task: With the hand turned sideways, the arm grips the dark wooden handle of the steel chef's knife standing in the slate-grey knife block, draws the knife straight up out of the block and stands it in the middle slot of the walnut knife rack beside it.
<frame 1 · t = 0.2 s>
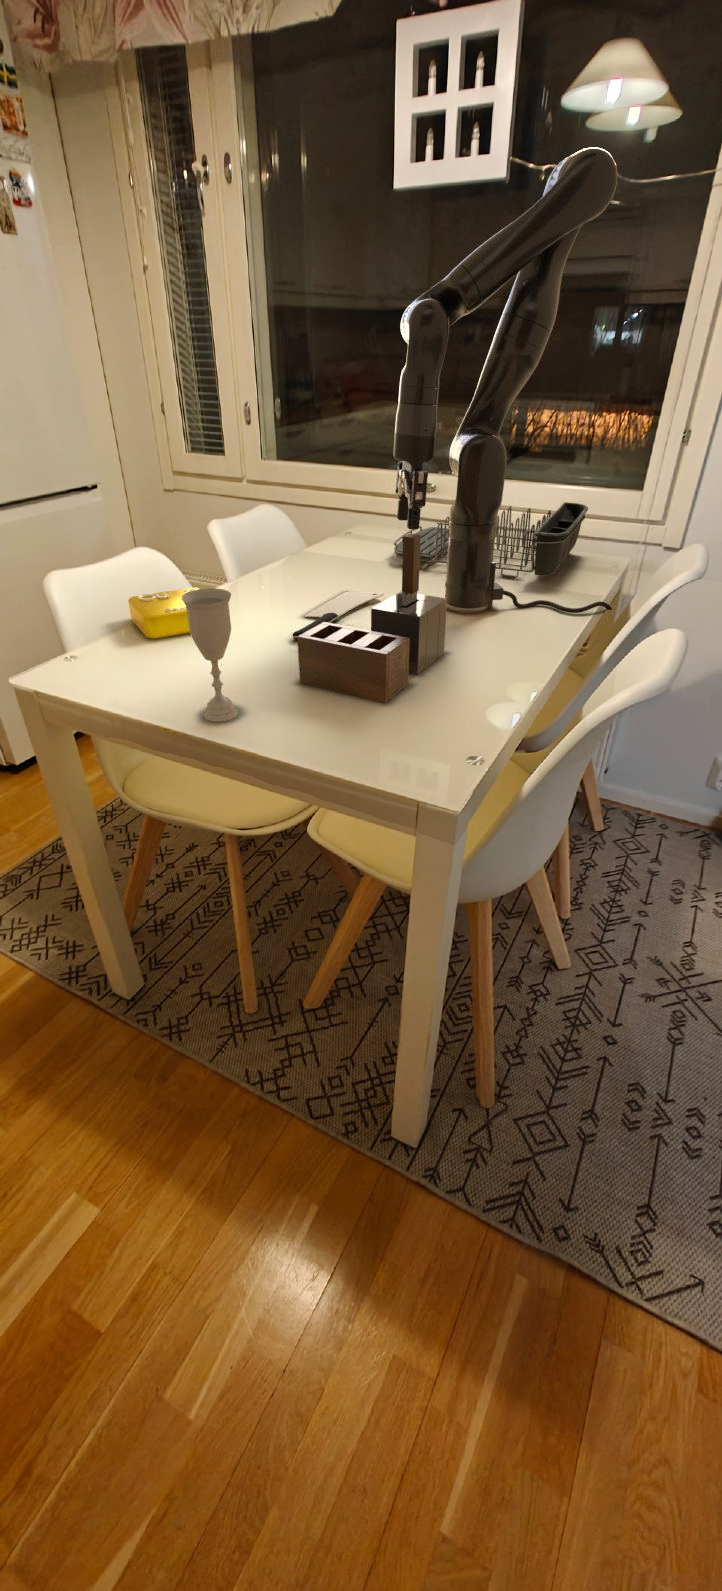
hand: (407, 524, 140), 17 cm above the table, tool pointing down, fingers open, 8 cm apart
chef knife: (409, 600, 121), in the knife block
chalice: (221, 715, 109), on the table
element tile: (176, 623, 144), on the table
knife block: (408, 659, 127), on the table
dish rack: (484, 559, 184), on the table
kitchen cleaver: (330, 616, 147), on the table
knife rack: (353, 683, 118), on the table
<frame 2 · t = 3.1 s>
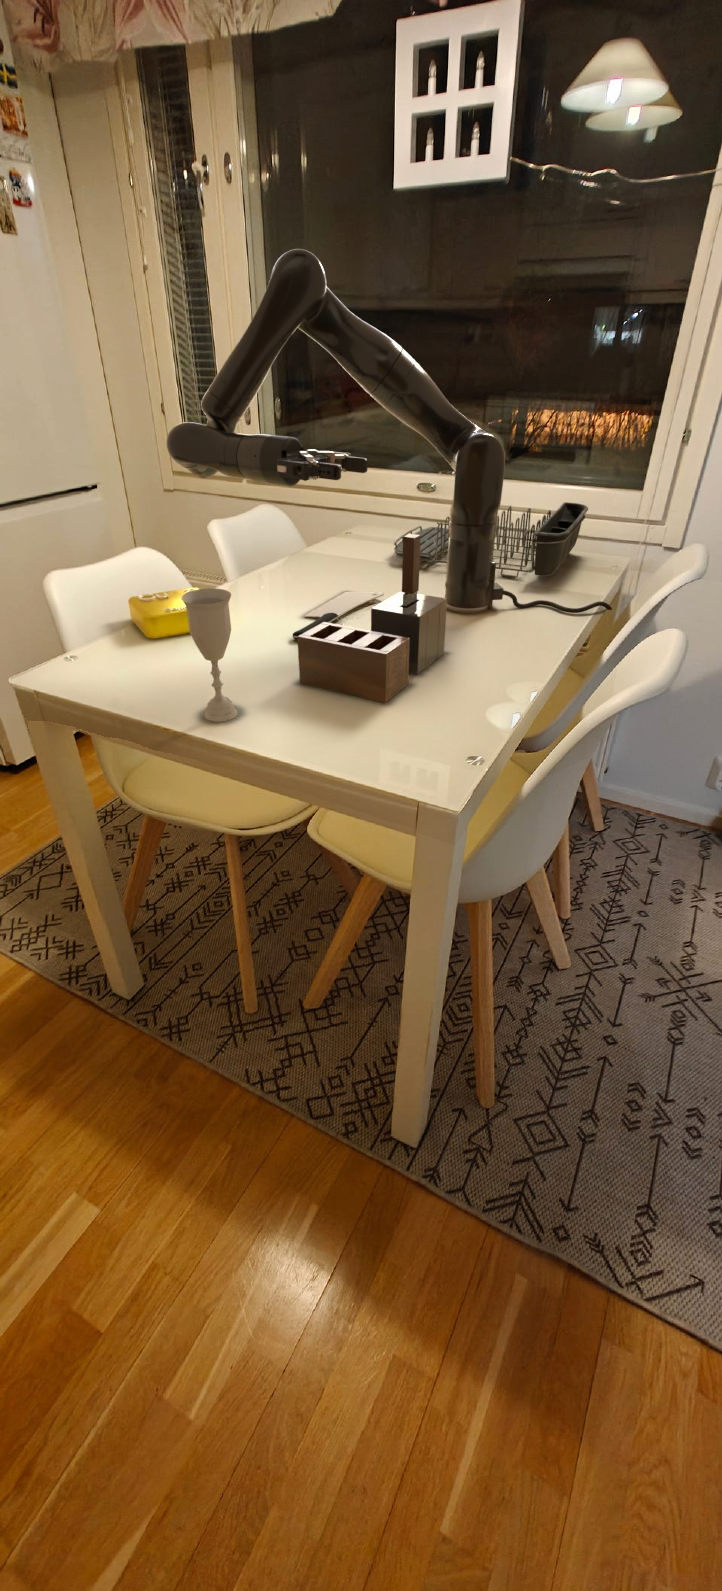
hand: (353, 469, 115), 30 cm above the table, tool horizontal, fingers open, 8 cm apart
nothing on the table moved.
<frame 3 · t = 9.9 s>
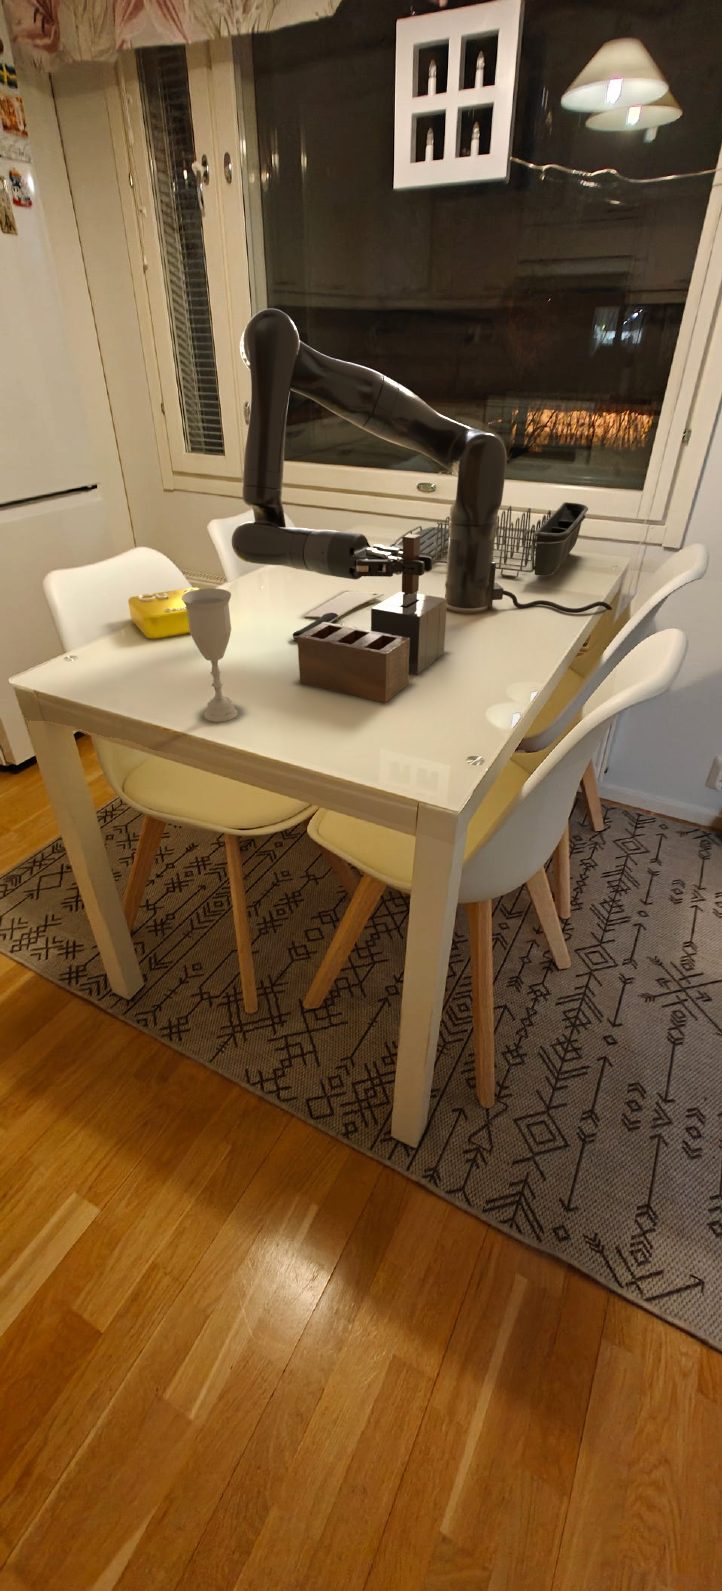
hand: (427, 566, 117), 17 cm above the table, tool horizontal, fingers closed on chef knife, 2 cm apart
chef knife: (409, 600, 121), in the knife block, touching gripper
everything else where it was.
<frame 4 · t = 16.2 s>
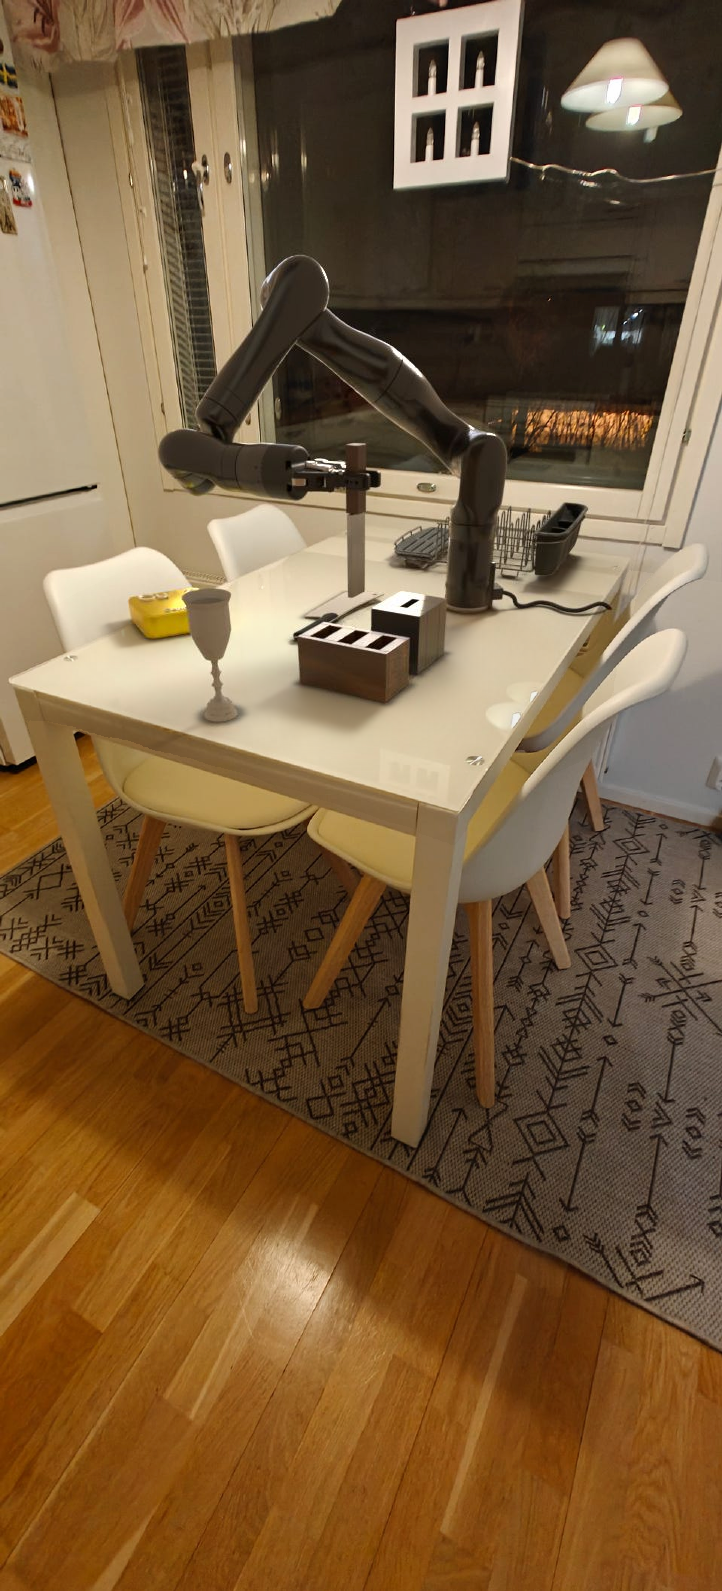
hand: (374, 480, 101), 31 cm above the table, tool horizontal, fingers closed on chef knife, 2 cm apart
chef knife: (356, 523, 105), point 25 cm above the table, touching gripper
everything else where it was.
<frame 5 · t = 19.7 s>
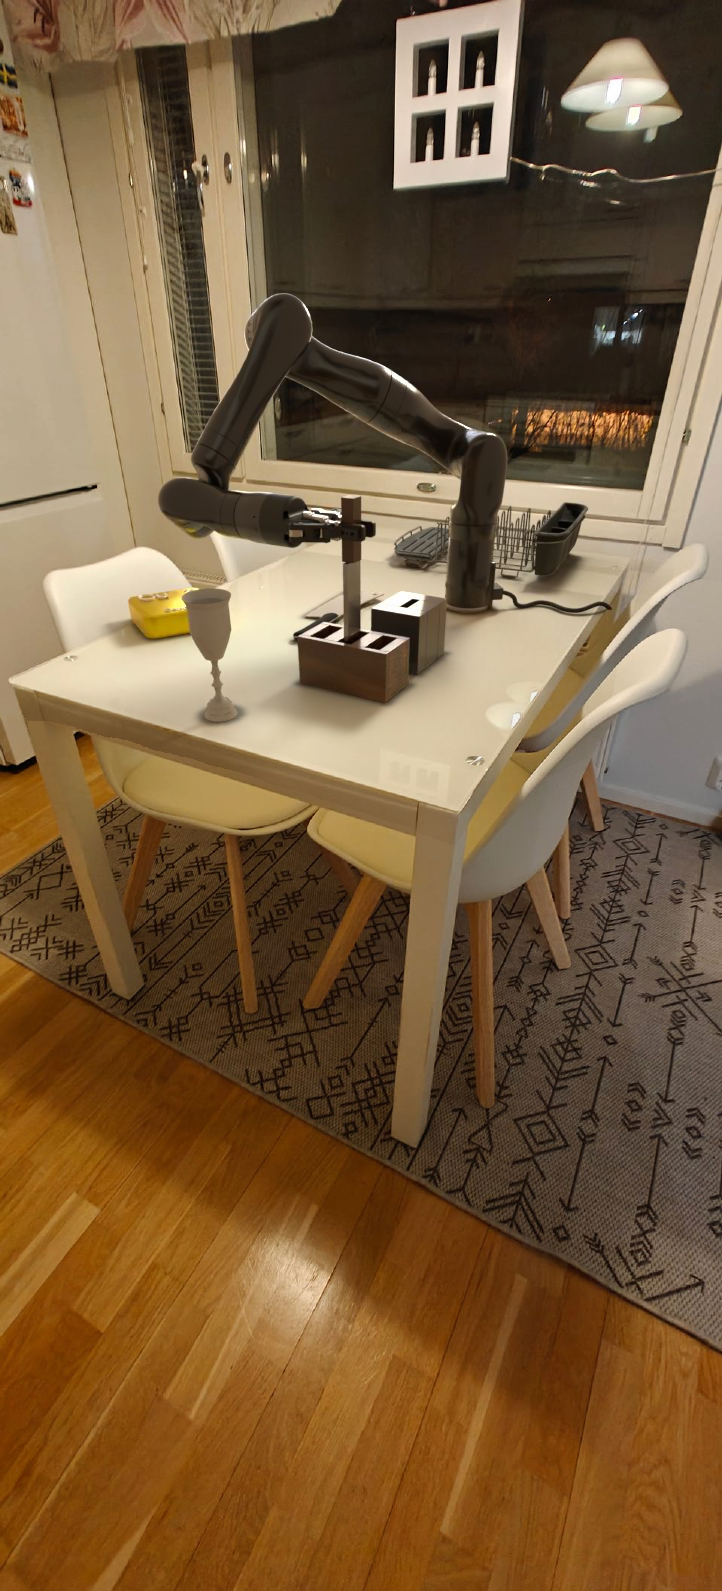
hand: (369, 531, 104), 24 cm above the table, tool horizontal, fingers closed on chef knife, 2 cm apart
chef knife: (351, 570, 108), point 18 cm above the table, touching gripper
everything else where it was.
when the fingers open (16 cm above the table, at t = 22.6 s): chef knife stays where it is, resting in knife rack.
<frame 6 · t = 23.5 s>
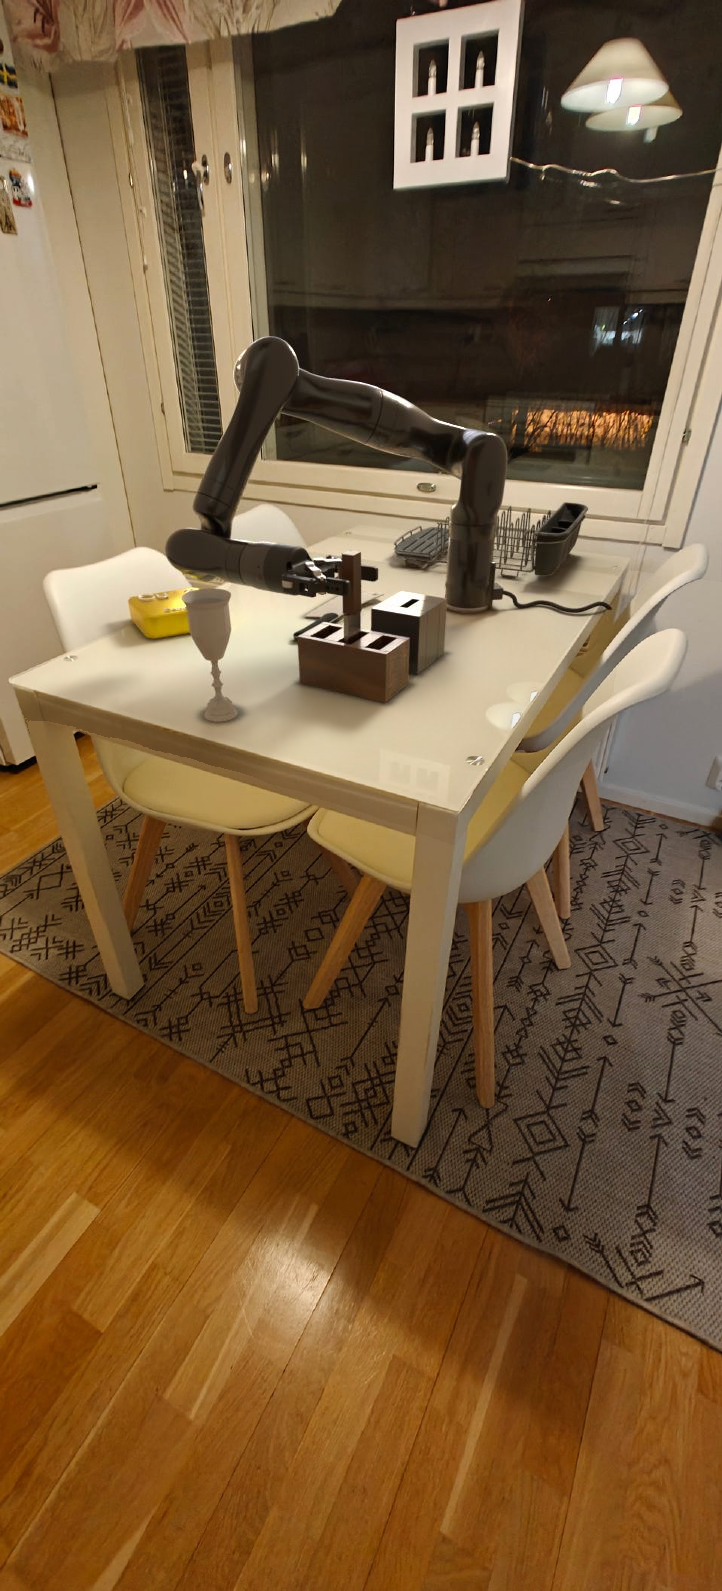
hand: (363, 581, 108), 17 cm above the table, tool horizontal, fingers open, 8 cm apart
chef knife: (352, 621, 112), in the knife rack
everything else where it was.
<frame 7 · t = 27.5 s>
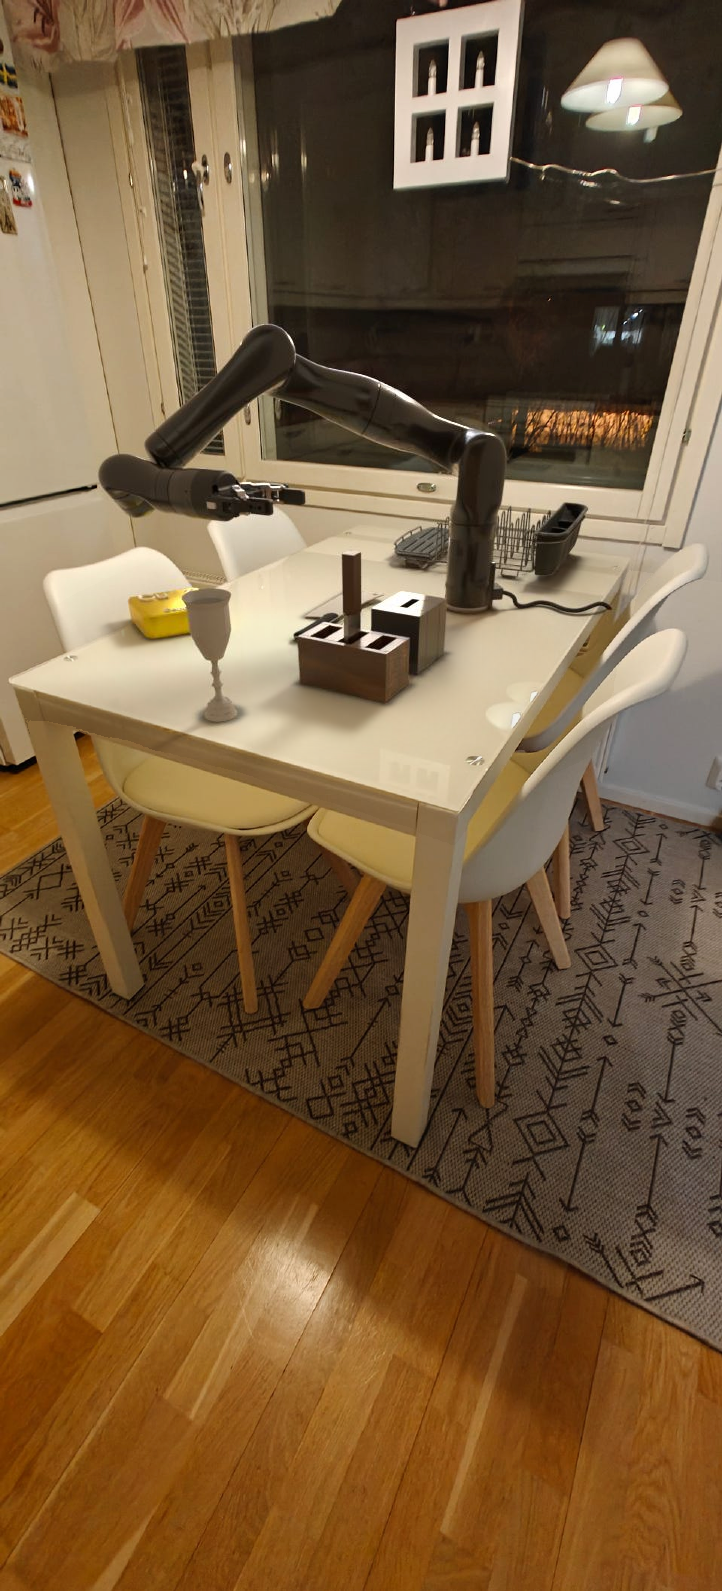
hand: (288, 502, 108), 27 cm above the table, tool horizontal, fingers open, 8 cm apart
nothing on the table moved.
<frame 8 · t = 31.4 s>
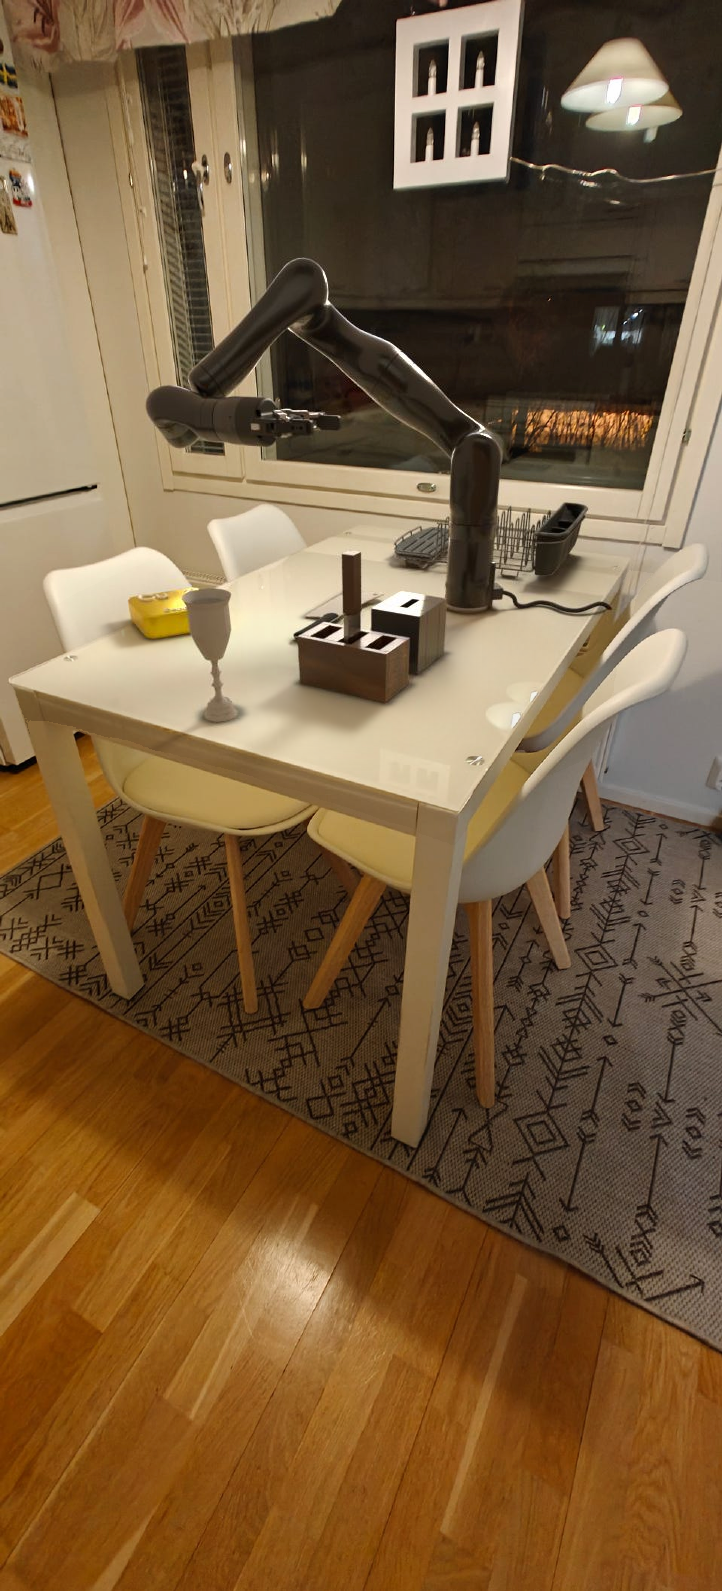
hand: (326, 425, 116), 36 cm above the table, tool horizontal, fingers open, 8 cm apart
nothing on the table moved.
at the end: chef knife 0.1 cm off-centre on the knife rack, point 10.5 cm above the knife rack's base; chef knife tilted 0°; the gripper is holding nothing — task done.
